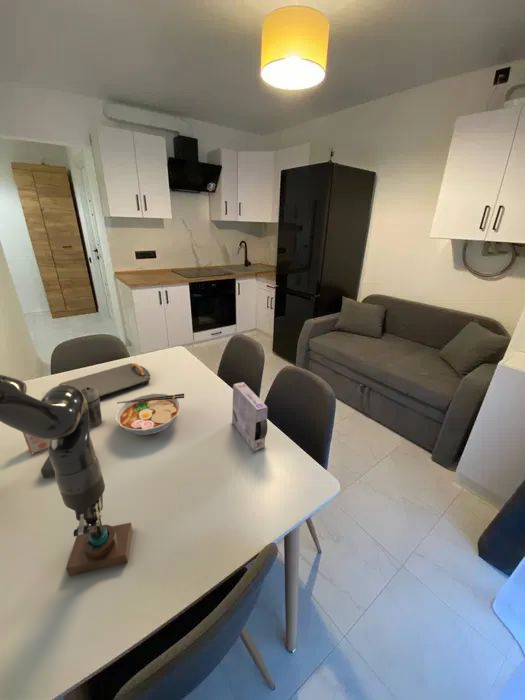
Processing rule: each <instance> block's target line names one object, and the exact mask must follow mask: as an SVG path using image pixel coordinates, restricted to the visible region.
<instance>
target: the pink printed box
mask: <svg viewBox="0 0 525 700" xmlns="http://www.w3.org/2000/svg"><path fill="white" fill-rule="evenodd" d="M22 434H23V438H24V440H25V444H26V446H27V448H28V451H29V453H30V455H31V456H32V455H35V454H37V453H40V452H43V451H45V450H48V449H49V444H50V440H44V439H38V438H35V437H32V436H30V435H28V434H25V433H23V432H22ZM32 453H33V454H32Z"/></svg>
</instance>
